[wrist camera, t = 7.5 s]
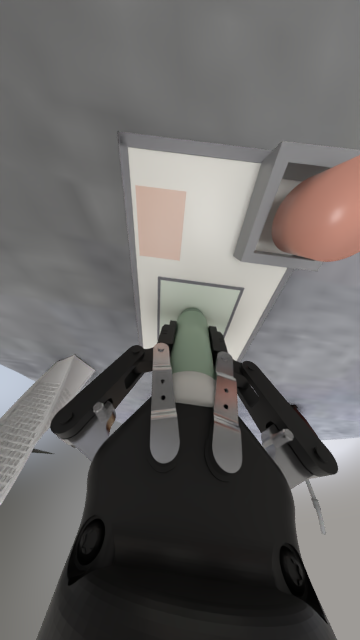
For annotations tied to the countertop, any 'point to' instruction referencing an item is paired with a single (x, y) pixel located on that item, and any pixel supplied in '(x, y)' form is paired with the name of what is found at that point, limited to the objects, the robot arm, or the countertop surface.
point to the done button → (322, 215)
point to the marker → (192, 360)
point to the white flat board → (211, 229)
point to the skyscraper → (36, 415)
